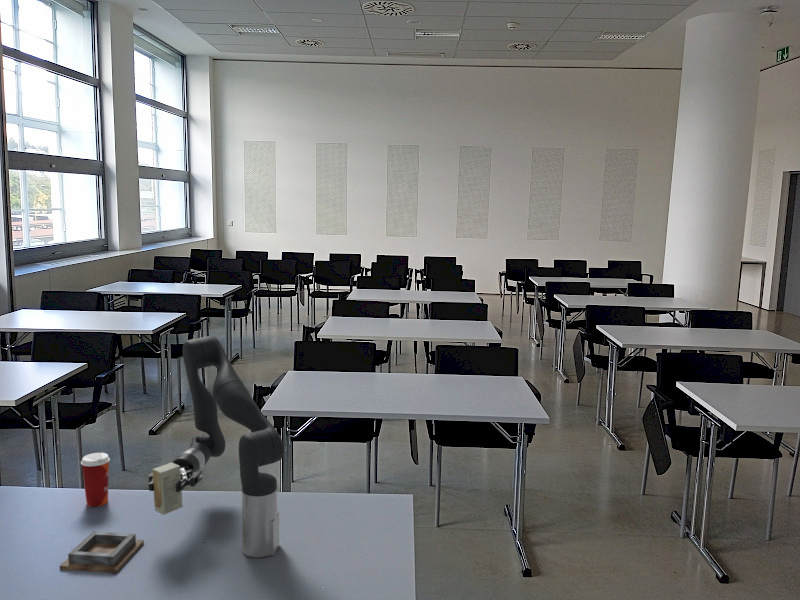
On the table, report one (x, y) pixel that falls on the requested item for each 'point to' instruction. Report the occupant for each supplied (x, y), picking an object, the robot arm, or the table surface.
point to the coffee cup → (96, 478)
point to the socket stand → (102, 552)
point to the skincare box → (167, 488)
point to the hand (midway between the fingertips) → (164, 488)
